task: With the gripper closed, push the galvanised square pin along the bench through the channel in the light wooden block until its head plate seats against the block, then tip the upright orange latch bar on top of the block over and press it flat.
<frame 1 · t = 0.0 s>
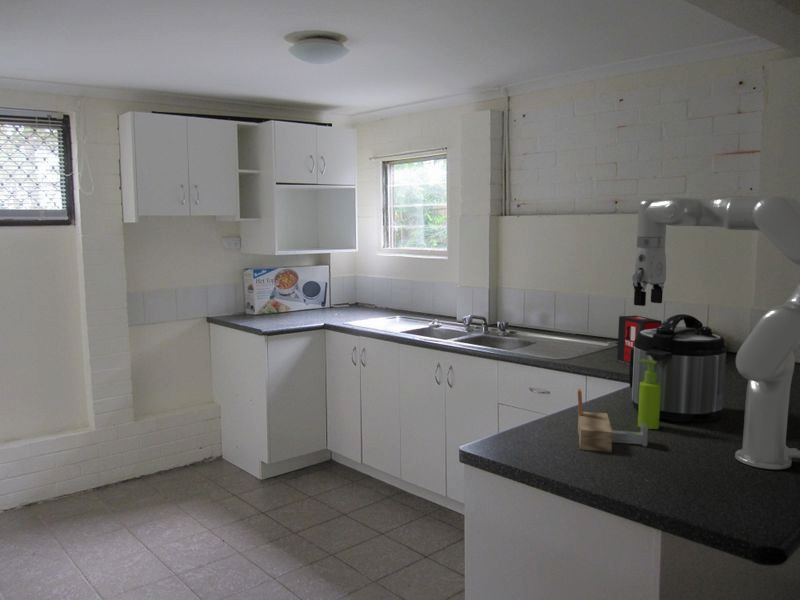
hand: (648, 304, 189), 37 cm above the countertop, tool pointing down, fingers open, 9 cm apart
cleaning product box: (637, 365, 286), on the countertop
lynch pin: (615, 431, 184), point 3 cm above the countertop, slide at 0.0 cm
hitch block: (593, 440, 186), on the countertop
pressure cooker: (673, 413, 214), on the countertop
soap dispenser: (646, 427, 199), on the countertop
latch: (580, 401, 191), point 9 cm above the countertop, hinge at 95.0°
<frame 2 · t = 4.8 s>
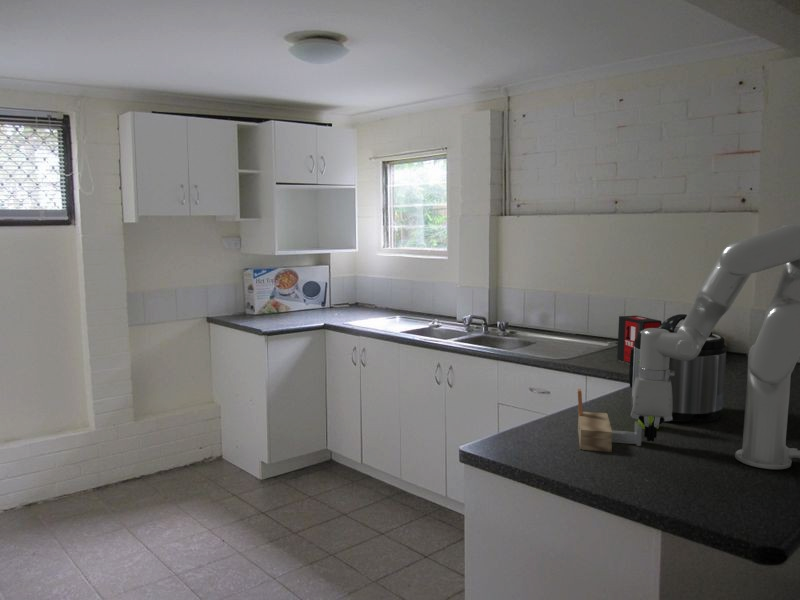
hand: (650, 439, 182), 1 cm above the countertop, tool pointing down, fingers closed
lynch pin: (609, 431, 185), point 3 cm above the countertop, slide at 1.6 cm, touching gripper
everything else where it was.
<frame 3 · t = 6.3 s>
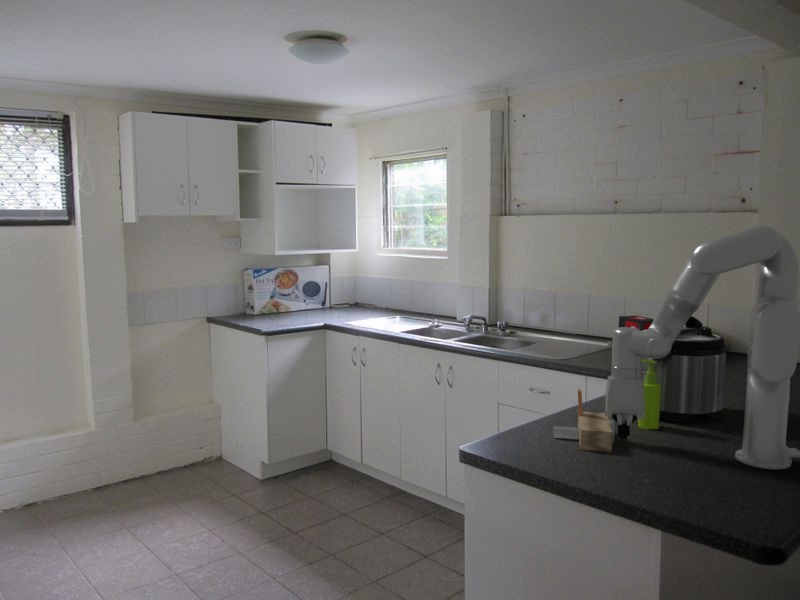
hand: (623, 437, 184), 1 cm above the countertop, tool pointing down, fingers closed
lynch pin: (583, 429, 186), point 3 cm above the countertop, slide at 8.5 cm, touching gripper, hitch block
everything else where it was.
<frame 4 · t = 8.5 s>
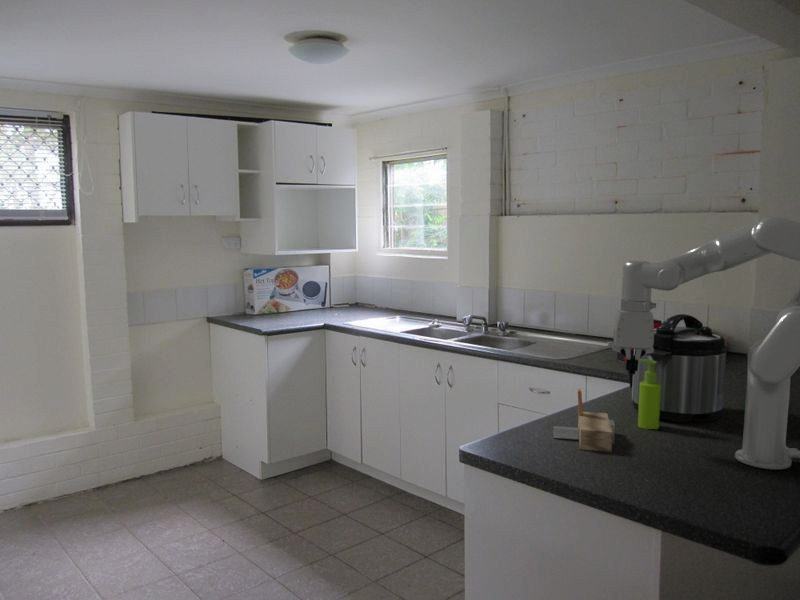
hand: (631, 373, 182), 19 cm above the countertop, tool pointing down, fingers closed
lynch pin: (583, 429, 186), point 3 cm above the countertop, slide at 8.5 cm
everything else where it was.
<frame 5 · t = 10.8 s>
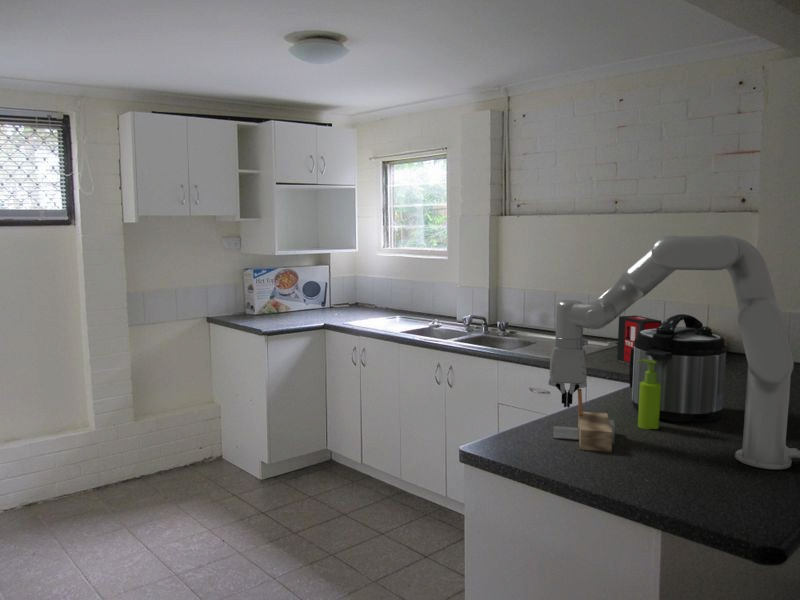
hand: (566, 406, 192), 8 cm above the countertop, tool pointing down, fingers closed
latch: (580, 401, 191), point 9 cm above the countertop, hinge at 94.7°, touching gripper
everything else where it was.
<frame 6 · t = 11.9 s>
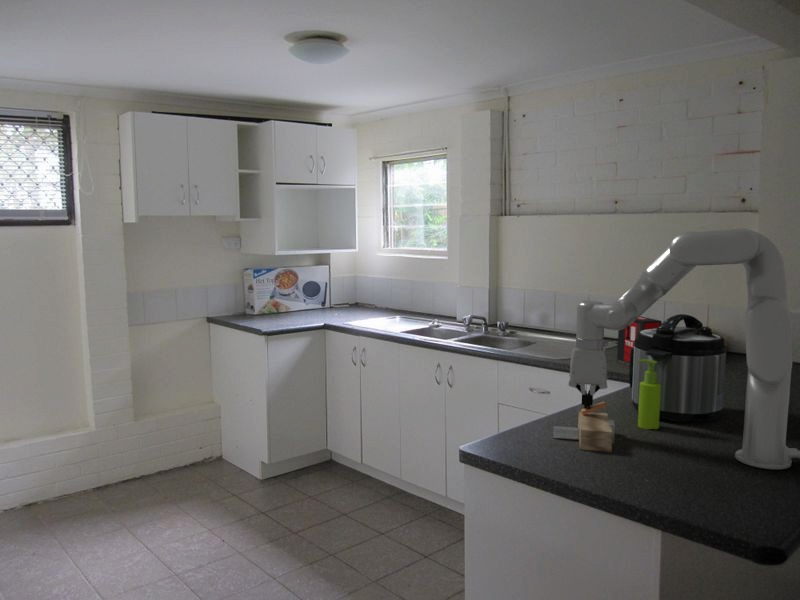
hand: (586, 407, 191), 8 cm above the countertop, tool pointing down, fingers closed
latch: (593, 408, 191), point 7 cm above the countertop, hinge at 23.5°
everything else where it was.
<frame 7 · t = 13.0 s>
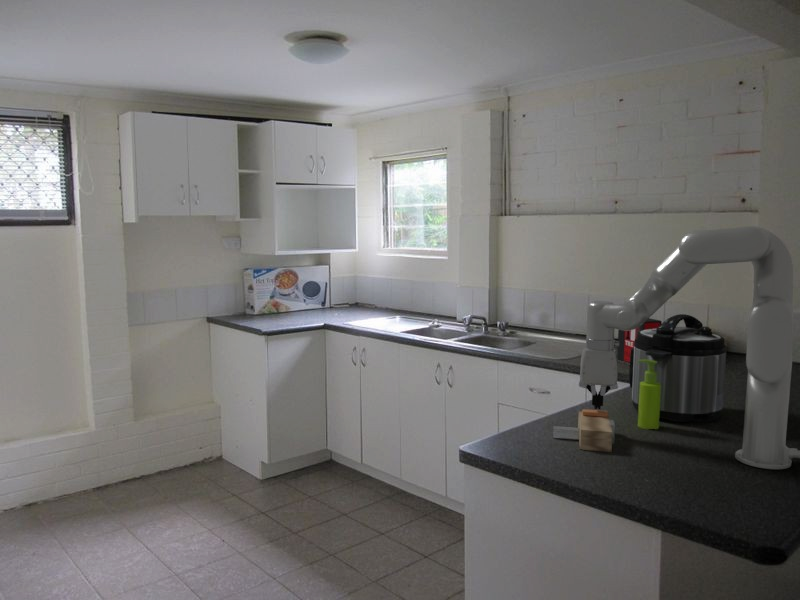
hand: (597, 407, 191), 8 cm above the countertop, tool pointing down, fingers closed
latch: (595, 413, 191), point 6 cm above the countertop, hinge at -0.3°
everything else where it was.
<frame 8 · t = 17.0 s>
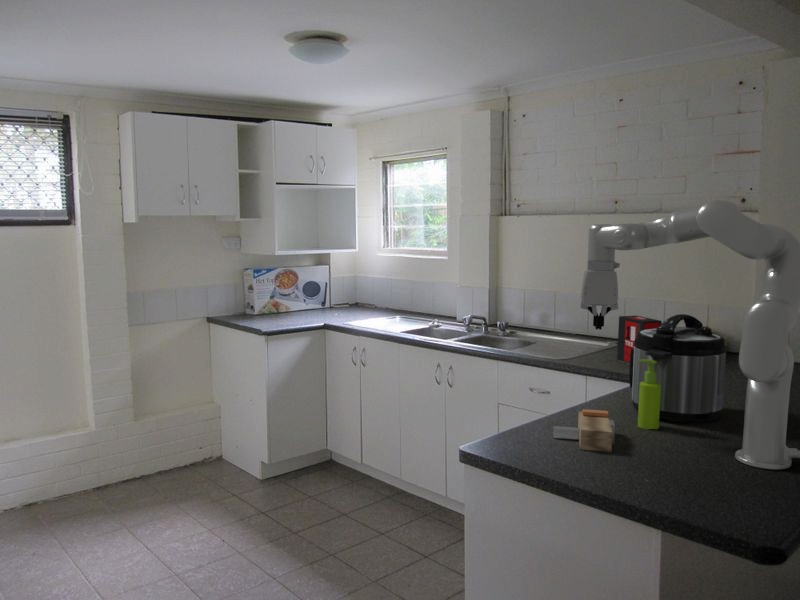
hand: (598, 328, 197), 29 cm above the countertop, tool pointing down, fingers closed
nothing on the countertop moved.
at the end: lynch pin slide at 8.5 cm; latch at +0° (first picture: +95°); latch touching nothing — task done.
